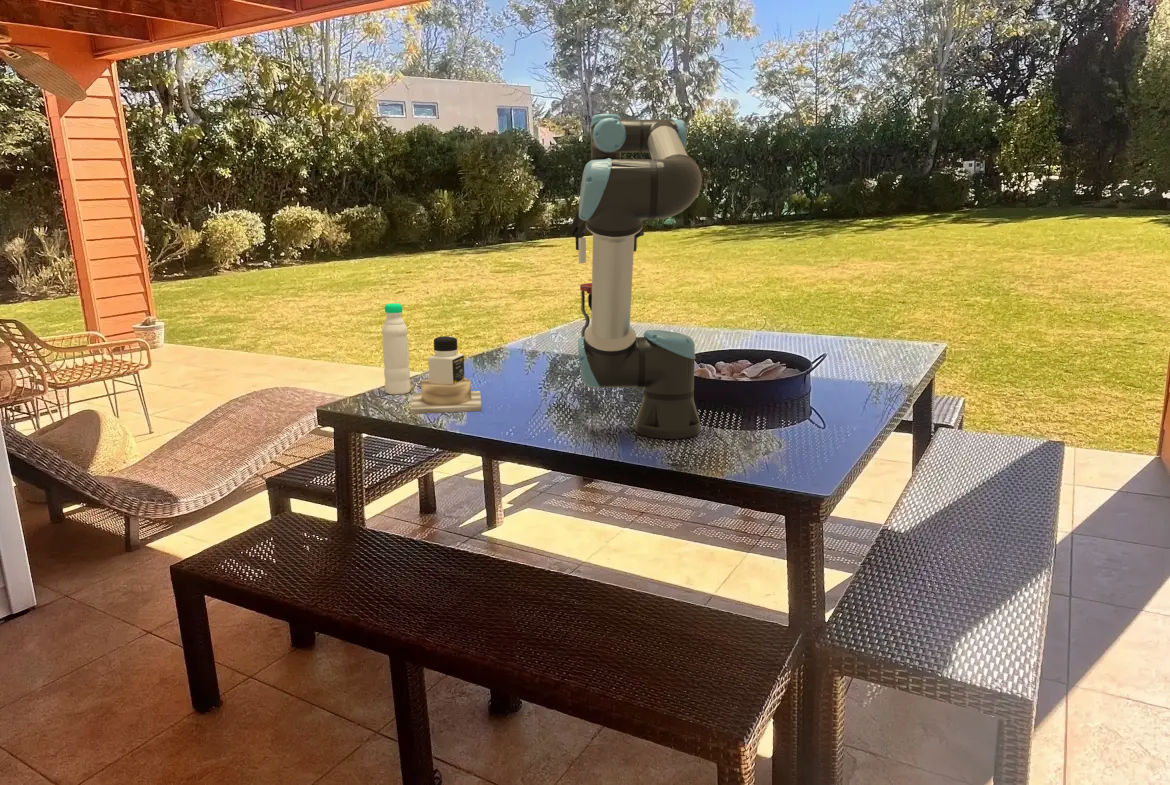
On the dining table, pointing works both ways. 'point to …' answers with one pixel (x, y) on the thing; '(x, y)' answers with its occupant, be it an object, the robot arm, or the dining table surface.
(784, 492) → the dining table surface
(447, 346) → the medicine bottle
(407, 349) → the water bottle
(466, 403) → the post stand
